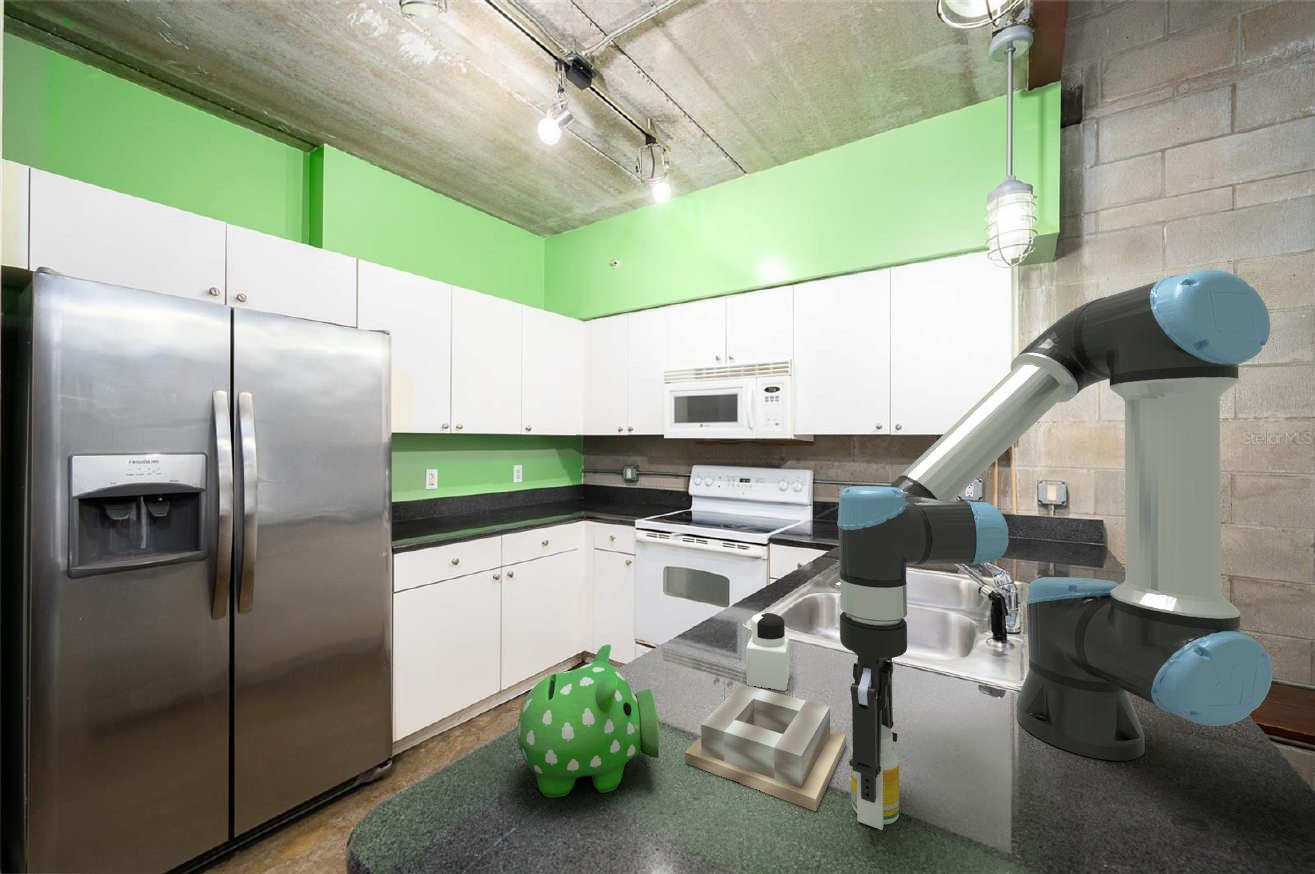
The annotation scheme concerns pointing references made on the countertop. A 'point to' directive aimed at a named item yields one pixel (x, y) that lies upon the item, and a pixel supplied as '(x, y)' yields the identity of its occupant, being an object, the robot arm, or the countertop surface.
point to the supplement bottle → (884, 778)
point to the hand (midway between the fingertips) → (875, 807)
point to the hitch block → (770, 745)
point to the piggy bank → (586, 727)
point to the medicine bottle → (768, 653)
